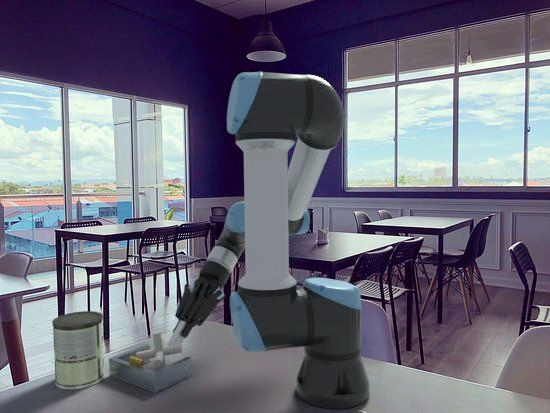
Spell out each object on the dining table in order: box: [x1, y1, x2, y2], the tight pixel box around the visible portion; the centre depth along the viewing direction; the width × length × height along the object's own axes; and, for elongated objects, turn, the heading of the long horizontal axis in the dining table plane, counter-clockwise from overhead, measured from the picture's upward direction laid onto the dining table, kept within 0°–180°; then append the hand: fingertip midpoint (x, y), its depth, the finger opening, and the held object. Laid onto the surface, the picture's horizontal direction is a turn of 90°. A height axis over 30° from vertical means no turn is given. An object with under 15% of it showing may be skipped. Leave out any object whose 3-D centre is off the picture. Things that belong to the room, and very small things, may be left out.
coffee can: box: [51, 310, 106, 391], centre depth 101 cm, size 10×10×14 cm
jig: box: [108, 344, 193, 394], centre depth 103 cm, size 15×11×5 cm
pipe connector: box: [136, 329, 183, 370], centre depth 103 cm, size 10×10×10 cm
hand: (172, 347), depth 108 cm, fingers closed
